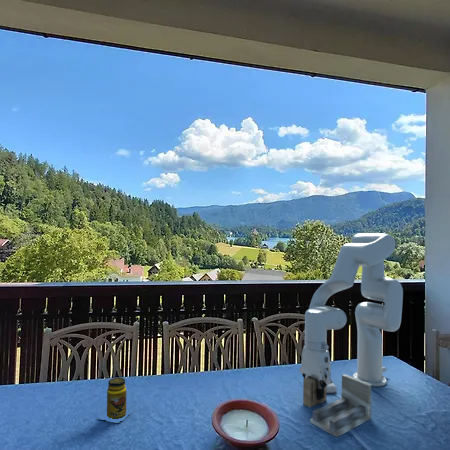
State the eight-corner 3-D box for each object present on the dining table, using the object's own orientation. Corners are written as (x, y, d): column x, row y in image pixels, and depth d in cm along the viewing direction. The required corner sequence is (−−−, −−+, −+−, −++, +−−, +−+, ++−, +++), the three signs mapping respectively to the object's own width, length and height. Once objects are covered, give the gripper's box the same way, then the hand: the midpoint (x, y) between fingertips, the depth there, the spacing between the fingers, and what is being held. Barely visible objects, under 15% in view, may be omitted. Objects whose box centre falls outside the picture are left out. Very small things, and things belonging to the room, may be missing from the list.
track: (344, 406, 127) (344, 374, 127) (370, 418, 119) (371, 384, 119) (310, 422, 117) (310, 387, 117) (336, 437, 109) (337, 399, 109)
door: (319, 397, 134) (319, 372, 134) (326, 400, 132) (326, 375, 132) (303, 404, 129) (303, 378, 129) (310, 407, 126) (310, 381, 126)
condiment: (119, 424, 114) (119, 386, 114) (96, 419, 117) (96, 382, 117) (131, 413, 121) (132, 377, 121) (110, 409, 124) (110, 373, 124)
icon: (303, 370, 149) (327, 369, 149) (303, 380, 149) (327, 380, 149) (311, 383, 137) (337, 382, 137) (311, 394, 137) (337, 394, 137)
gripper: (342, 349, 126) (341, 402, 126) (304, 337, 139) (303, 385, 139) (328, 353, 121) (327, 408, 121) (290, 340, 135) (290, 390, 135)
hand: (314, 395), depth 130 cm, fingers open, 4 cm apart
